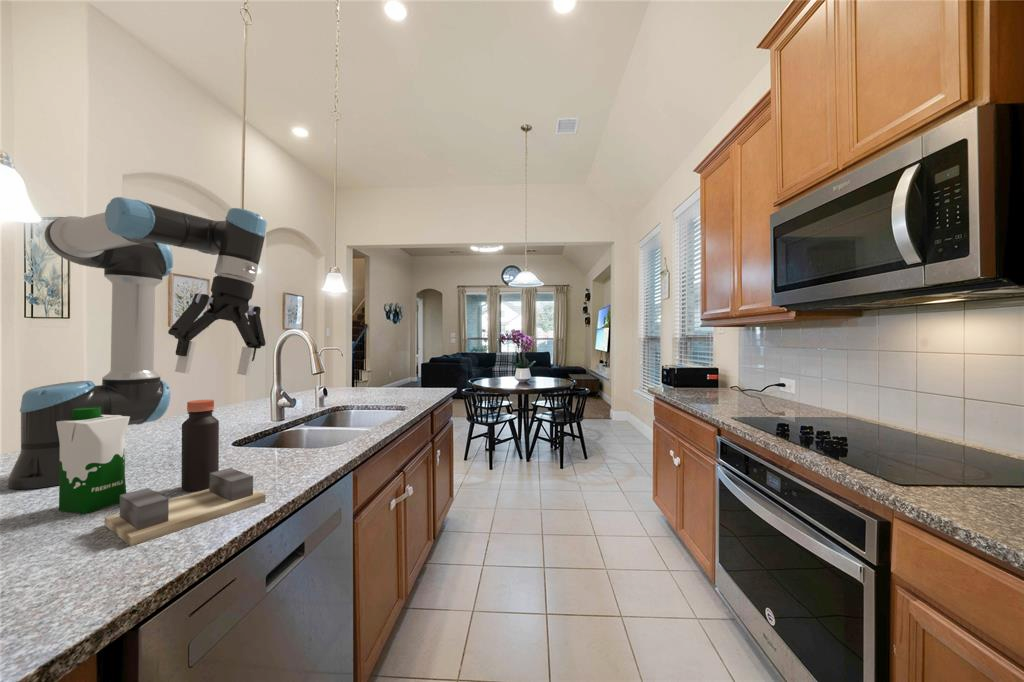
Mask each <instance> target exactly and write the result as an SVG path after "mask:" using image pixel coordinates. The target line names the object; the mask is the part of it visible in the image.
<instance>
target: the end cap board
mask: <svg viewBox="0 0 1024 682" xmlns="http://www.w3.org/2000/svg"><path fill="white" fill-rule="evenodd" d="M265 501H266V494H265V493H263V492H260V491H257V490H255V489H254V475H251V474H249V473H245V472H243V471H241V470H238V469H236V468H233V467H229V468H224V469H221V470H219V471H216V472H212V473H210V481H209V488H208V489H204V490H199V491H194V492H191V493H188V494H184V495H181V496H177V497H173V498H170V499H169V498H167V497H165V496H164V495H162V494H160V493H159V492H156V491H154V490H153V489H152V488H149V487H147V488H143V489H142V488H141V489H139V490H134V491H130V492H126V494H121V495H120V502H119V513H118V512H117V513H114V514H111V515H107V516H104V526H105V527H106V528H108V529H109V530H110V531H111V532H112V531H113V532H112V533H114V534H115V535H116V534H117V535H118V536H117V535H116V536H117V537H119V538H120V539H121V540H122V539H123V540H122V541H124V542H125V543H126V544H127V543H128V544H129V547H132V546H136V545H138V543H139V544H142V543H145V542H148V541H150V540H155V539H157V538H160V537H163V536H166V535H168V534H172V533H175V532H177V531H181V530H184V529H187V528H191V527H194V526H195V525H199V524H202V523H205V522H209V521H211V520H215V519H217V518H221V517H223V516H226V515H230V514H233V513H236V512H239V511H242V510H244V509H247V508H251V507H254V506H256V505H260V504H262V503H263V504H264V503H265ZM266 502H267V501H266ZM128 544H127V545H128ZM135 544H136V545H135Z"/></svg>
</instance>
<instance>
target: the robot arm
mask: <svg viewBox="0 0 1024 682" xmlns="http://www.w3.org/2000/svg"><path fill="white" fill-rule="evenodd" d="M224 219H225V220H213V219H209V218H205V217H202V216H198V215H195V214H191V213H190V214H189V213H187V212H183V211H182V212H181V211H178V210H174V209H171V208H168V207H164V206H159V205H156V204H151V203H148V202H144V201H142V200H139V199H131V198H127V197H123V196H122V197H121V196H116V197H113V198H112V199H111V200H110V201H109V202H108V203H107V205H106V207H105V212H100V213H96V214H93V215H89V216H88V215H87V216H85V217H84V216H83V217H82V216H75V215H72V216H65V217H64V216H63V217H60V218H57V219H55V220H53V221H51V222H50V223H48V225H47V226H46V228H45V231H44V239H45V242H46V245H47V246H48V248H50V249H51V250H52V252H54V254H57V255H58V256H59V257H61V258H63V259H65V260H66V261H69V262H71V263H73V264H78V265H80V266H85V267H90V268H95V269H102V270H104V271H103V273H104V274H103V276H104V277H105V278H106V279H107V280H108V281H109V282H110V283H111V285H112V286H111V327H110V329H111V330H110V331H111V332H110V333H111V335H110V339H111V340H110V371H109V372H108V373H107V374H105V375H104V376H102V378H101V379H102V382H101V384H100V385H96V384H95V383H94V381H92V380H78V381H69V382H68V381H67V382H61V383H54V384H53V383H52V384H49V385H48V384H47V385H42V386H39V387H34V388H30V389H28V390H26V391H25V392H24V393H23V395H22V396H21V403H20V408H19V412H20V453H19V455H18V457H17V460H16V461H15V464H14V466H13V468H12V469H11V471H10V474H9V475H8V488H10V489H11V490H12V489H13V490H29V489H30V490H31V489H42V488H47V487H55V486H59V478H60V442H59V435H58V429H57V423H56V422H57V421H64V420H68V419H72V410H73V409H77V408H84V407H101V415H121V416H129V417H130V419H129V422H128V426H133V425H143V424H145V423H151V422H155V421H157V420H160V419H161V418H162V417H163V416H164V415H165V414H166V413H167V410H168V408H169V407H170V404H171V403H170V402H171V390H170V386H169V384H168V383H167V382H166V381H164V380H161V375H160V374H159V373H158V372H156V371H155V370H154V366H155V365H154V363H155V362H154V359H155V357H154V355H155V354H154V353H155V321H156V320H155V319H156V318H155V316H156V315H155V309H156V307H155V306H156V305H155V304H156V287H157V286H158V285H160V284H161V283H162V282H163V278H164V277H167V276H169V275H170V274H171V273H172V268H173V266H174V255H173V252H172V249H171V246H173V247H178V248H184V249H189V250H193V251H198V252H199V253H203V254H209V255H211V256H214V255H215V256H216V255H218V256H217V258H216V259H217V260H216V264H215V268H214V273H215V276H213V279H212V283H211V288H210V291H211V295H210V296H209V295H208V294H205V293H195V294H194V296H193V298H192V301H191V303H190V304H189V306H188V307H187V308H186V309H185V310H184V311H183V312H182V313H181V315H180V316H179V317H178V319H177V320H176V321H175V322H174V323H173V325H172V326H171V327H170V328H169V329H168V331H167V333H168V335H170V336H173V337H174V338H175V339H176V340H177V345H176V349H175V356H178V357H177V361H176V365H175V369H174V372H175V373H182V374H190V371H191V366H192V362H193V356H194V353H195V348H196V344H197V342H196V341H193V339H194V338H196V337H197V336H198V335H199V334H201V332H203V331H204V330H206V329H207V328H208V327H209V326H211V325H212V324H213V323H214V322H215V321H218V320H224V321H229V322H232V323H233V324H234V325H235V326H236V328H237V330H238V332H239V333H240V336H241V338H242V340H243V342H244V344H245V345H246V346H242V348H241V353H240V357H239V362H238V368H237V373H236V375H241V376H248V377H249V376H250V373H251V368H252V362H254V361H255V359H256V358H255V357H256V353H257V349H261V348H262V347H265V346H266V344H267V342H266V337H265V334H264V329H263V324H262V321H261V309H262V308H261V307H260V306H258V305H257V306H256V305H249V301H251V300H252V299H253V294H254V290H255V285H254V284H253V283H254V282H256V278H257V274H258V270H259V263H260V260H261V257H262V251H263V246H264V243H265V238H266V236H267V235H266V229H267V223H268V222H267V220H266V219H265V218H264V217H263V216H262V215H260V214H258V213H256V212H254V211H252V210H248V209H244V208H241V207H240V208H238V207H231V208H230V209H229V210H228V211H227V214H226V216H225V218H224ZM207 306H209V308H207V310H205V309H206V307H207ZM204 310H205V311H204ZM203 311H204V312H203ZM201 314H202V315H201ZM246 314H247V315H246ZM200 315H201V316H200ZM198 317H199V318H198Z"/></svg>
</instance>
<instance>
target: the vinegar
mask: <svg viewBox="0 0 1024 682" xmlns="http://www.w3.org/2000/svg"><path fill="white" fill-rule="evenodd" d="M214 410H215V399H196V400H189V401H187V403H186V412H187V414H188V418H187V419H186V420H184V422H183V423H182V424H181V490H182V491H183V492H199V491H202V490H206V489H209V481H210V473H212V472H216V471H220V470H219V469H220V468H219V467H220V466H219V463H220V461H219V460H220V457H219V456H220V452H219V451H220V445H219V444H220V435H219V434H220V421H219V420H218V418H217V417H215V416H214V415H213V413H214V412H215V411H214Z"/></svg>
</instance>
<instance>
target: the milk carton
mask: <svg viewBox="0 0 1024 682" xmlns="http://www.w3.org/2000/svg"><path fill="white" fill-rule="evenodd" d="M129 419H130V417H129V416H121V415H101V407H84V408H77V409H73V410H72V419H68V420H64V421H57V422H56V423H57V429H58V435H59V442H60V478H59V485H58V486H59V487H58V492H59V493H58V494H59V495H58V512H65V511H67V513H73V512H76V514H82V513H84V514H83V515H87V514H89V512H90V513H92V512H95V511H97V510H101V509H104V508H107V507H110V506H113V505H116V504H118V503H119V504H120V495H121V494H126V493H127V483H126V434H127V430H128V426H129V425H128V422H129ZM86 513H87V514H86Z"/></svg>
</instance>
